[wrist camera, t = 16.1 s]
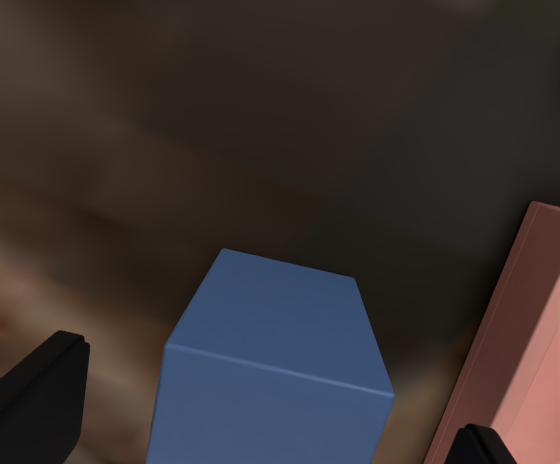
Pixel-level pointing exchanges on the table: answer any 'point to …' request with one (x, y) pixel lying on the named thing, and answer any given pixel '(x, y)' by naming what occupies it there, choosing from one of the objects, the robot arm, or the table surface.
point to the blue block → (270, 370)
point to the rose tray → (516, 352)
